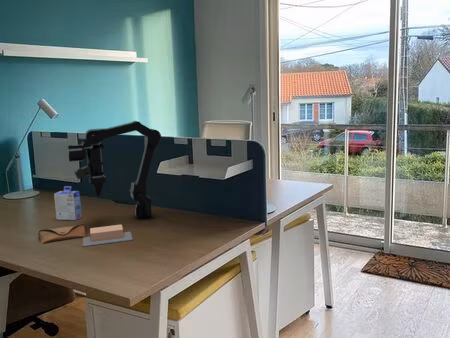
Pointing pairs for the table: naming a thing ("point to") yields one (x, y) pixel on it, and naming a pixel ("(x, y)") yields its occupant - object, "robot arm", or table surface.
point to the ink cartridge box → (67, 204)
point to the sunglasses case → (62, 233)
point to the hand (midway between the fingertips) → (98, 195)
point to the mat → (107, 240)
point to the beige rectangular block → (106, 232)
